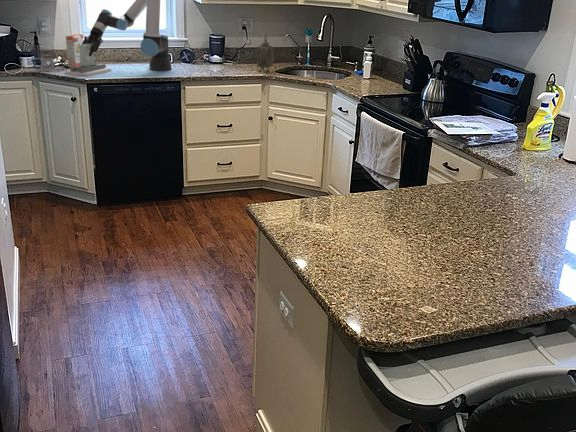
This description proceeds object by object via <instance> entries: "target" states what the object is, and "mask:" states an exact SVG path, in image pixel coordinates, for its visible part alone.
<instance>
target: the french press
mask: <svg viewBox="0 0 576 432" xmlns="http://www.w3.org/2000/svg"><path fill="white" fill-rule="evenodd" d="M42 33H43V34H44V35H46V33H47V31H46V30H43V31H42ZM44 42H45V46H41V47H40V48H39V50H40V51H45V52H46V53H45V54H41V55H40V64H41V65H40V66H41V68H40V70H41V71H40V72H45V71H51V72H55V70H56V68H55V63H56V62H57V61H58V59H59V56H58V53H57V52H56V51H54V50H53V48H52V47H51V46H47V44H46V43H47V42H46V40H44ZM47 51H51V52H52V54H48V53H47ZM53 53H55V54H56V60H55V61H54V57H53Z"/></svg>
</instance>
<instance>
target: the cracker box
mask: <svg viewBox="0 0 576 432" xmlns="http://www.w3.org/2000/svg"><path fill="white" fill-rule="evenodd" d="M83 41H84V34H81V33H79V34H78V33H75V34H70V35H65V45H66V55H67V56H66V57H67V67H68V68H69V69H70V68H71V67H76V66H81V62H80V58H79V56H80V48H79V45H82V43H83Z"/></svg>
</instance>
